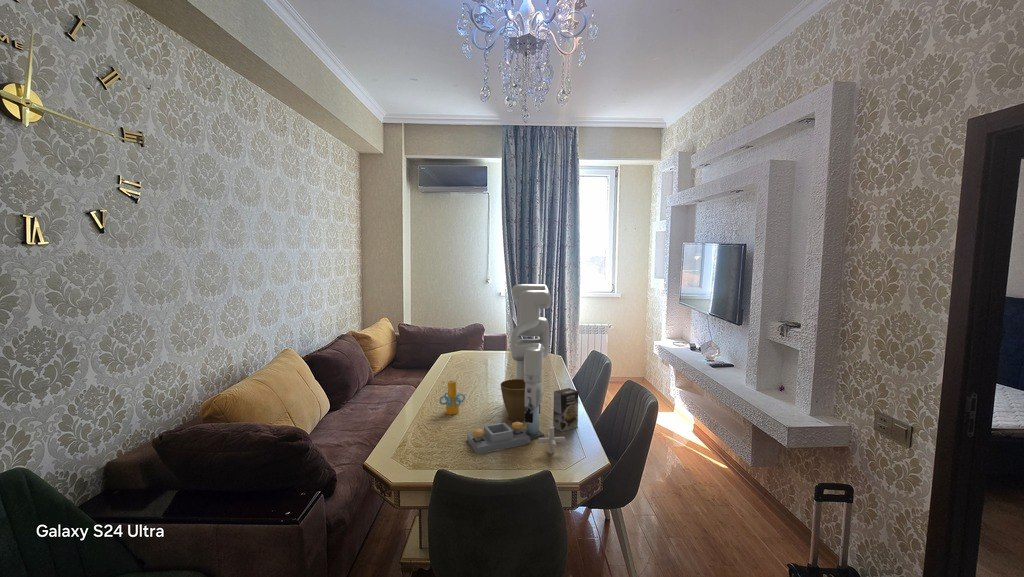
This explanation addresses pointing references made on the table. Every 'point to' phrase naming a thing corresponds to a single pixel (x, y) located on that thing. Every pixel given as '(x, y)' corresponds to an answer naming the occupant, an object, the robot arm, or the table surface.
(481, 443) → the housing
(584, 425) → the table surface
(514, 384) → the plant pot
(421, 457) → the table surface
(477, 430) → the orange rounded knob
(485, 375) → the table surface
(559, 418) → the coffee box
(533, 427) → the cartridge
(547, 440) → the pipe connector
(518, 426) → the light orange ball
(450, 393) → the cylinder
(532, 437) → the mat
